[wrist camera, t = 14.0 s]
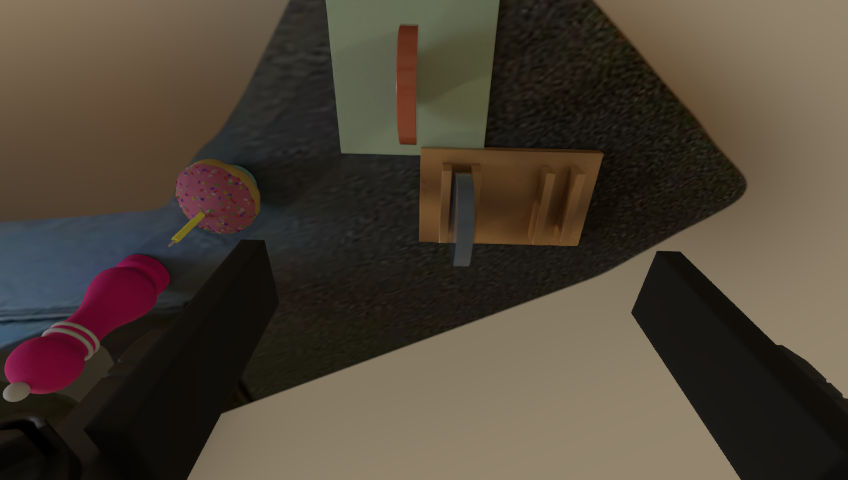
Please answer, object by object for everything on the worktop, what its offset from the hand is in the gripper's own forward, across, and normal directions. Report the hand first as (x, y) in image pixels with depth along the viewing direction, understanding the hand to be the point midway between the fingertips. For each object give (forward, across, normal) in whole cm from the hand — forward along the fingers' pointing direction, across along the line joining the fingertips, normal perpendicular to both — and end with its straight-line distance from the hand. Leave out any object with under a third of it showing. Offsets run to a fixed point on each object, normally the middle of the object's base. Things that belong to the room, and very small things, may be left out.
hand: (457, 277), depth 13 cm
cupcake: (+31, -24, -10) cm, 40 cm away
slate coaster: (+24, +2, -11) cm, 27 cm away
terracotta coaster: (+25, -3, +2) cm, 26 cm away
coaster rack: (+31, +8, -11) cm, 34 cm away
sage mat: (+31, -3, +2) cm, 31 cm away
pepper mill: (+31, -40, -24) cm, 56 cm away
